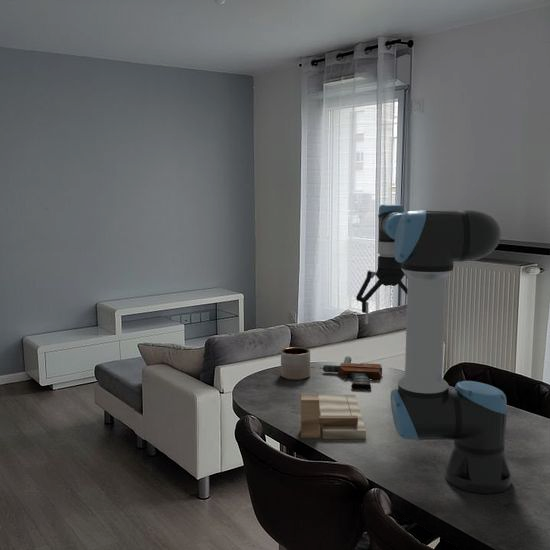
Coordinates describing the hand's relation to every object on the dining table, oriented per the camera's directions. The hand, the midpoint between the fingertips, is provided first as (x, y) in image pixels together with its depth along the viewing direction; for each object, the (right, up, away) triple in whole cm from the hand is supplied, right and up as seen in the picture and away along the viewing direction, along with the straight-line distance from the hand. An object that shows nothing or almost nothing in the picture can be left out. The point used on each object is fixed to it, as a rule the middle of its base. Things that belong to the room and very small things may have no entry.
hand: (388, 323), depth 200 cm
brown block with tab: (-20, -30, -16) cm, 39 cm away
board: (-16, -29, -5) cm, 33 cm away
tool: (-10, -23, +38) cm, 45 cm away
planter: (-28, -22, +38) cm, 52 cm away
